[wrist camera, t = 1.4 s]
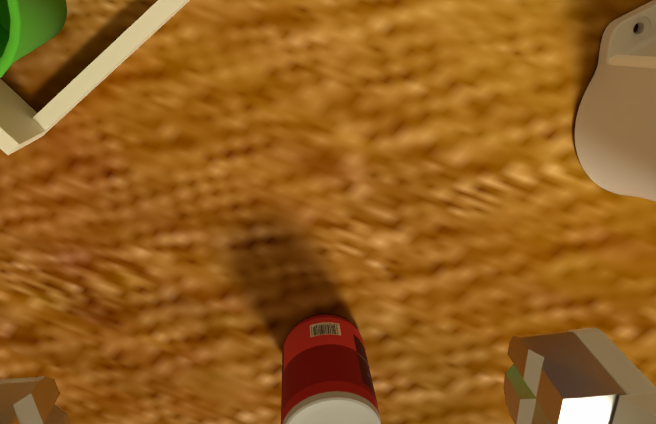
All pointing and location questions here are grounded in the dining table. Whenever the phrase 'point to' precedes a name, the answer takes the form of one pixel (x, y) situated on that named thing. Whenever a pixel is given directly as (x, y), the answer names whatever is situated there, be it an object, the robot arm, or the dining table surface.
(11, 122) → the frame
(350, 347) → the canned food
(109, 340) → the dining table surface
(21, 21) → the cup
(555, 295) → the dining table surface
